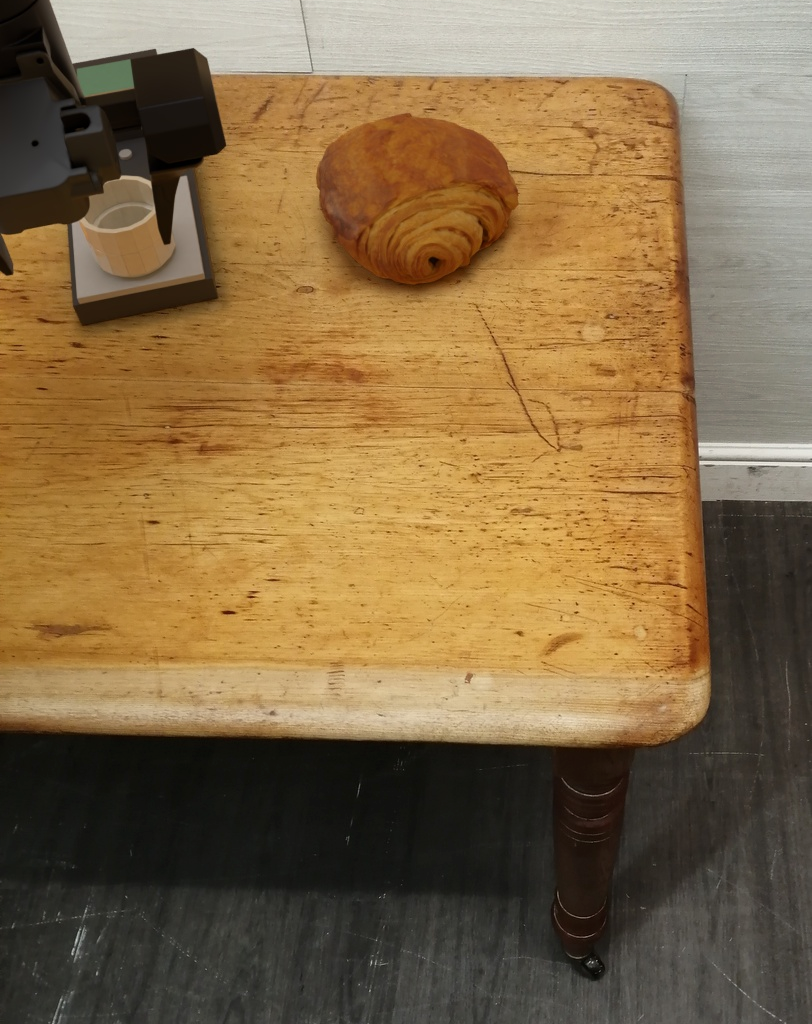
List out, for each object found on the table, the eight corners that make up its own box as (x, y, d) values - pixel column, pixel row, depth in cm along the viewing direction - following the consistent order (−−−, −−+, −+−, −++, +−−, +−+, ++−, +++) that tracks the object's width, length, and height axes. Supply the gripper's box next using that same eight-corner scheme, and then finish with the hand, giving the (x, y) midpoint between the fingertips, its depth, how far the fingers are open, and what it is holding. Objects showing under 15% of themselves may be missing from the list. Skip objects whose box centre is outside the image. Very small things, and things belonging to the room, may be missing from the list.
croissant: (348, 325, 73) (337, 255, 66) (307, 169, 79) (292, 90, 72) (536, 282, 74) (545, 208, 67) (480, 131, 80) (483, 49, 73)
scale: (81, 325, 71) (56, 271, 67) (66, 110, 85) (44, 54, 81) (218, 298, 72) (202, 243, 68) (180, 89, 86) (165, 32, 82)
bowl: (99, 288, 70) (78, 239, 66) (94, 234, 73) (74, 184, 69) (180, 272, 70) (164, 223, 66) (172, 219, 73) (156, 168, 70)
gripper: (-254, 141, 40) (-77, 390, 53) (204, 59, 41) (266, 320, 55) (-223, -6, 46) (-71, 251, 59) (176, -73, 47) (238, 191, 60)
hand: (89, 255), depth 58 cm, fingers open, 9 cm apart
